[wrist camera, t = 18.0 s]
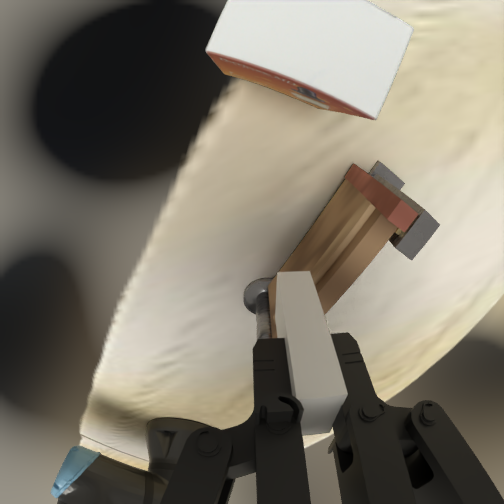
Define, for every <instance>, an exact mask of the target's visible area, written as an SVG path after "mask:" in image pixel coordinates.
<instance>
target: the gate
mask: <svg viewBox="0 0 504 504" xmlns="http://www.w3.org/2000/svg"><path fill="white" fill-rule="evenodd" d="M345 178H346V179H345V180H344V182H343V183H342V185H341V186H340V187H339V189H338V190H337V192H336V193H335V195H334V196H333V197H332V199H331V200H330V202H329V203H328V205H327V206H326V207H325V209H324V210H323V212H322V213H321V214H320V216H319V217H318V219H317V220H316V221H315V223H314V224H313V226H312V227H311V228H310V230H309V231H308V233H307V234H306V235H305V237H304V238H303V239H302V241H301V242H300V244H299V245H298V246H297V248H296V249H295V250H294V252H293V253H292V255H291V256H290V257H289V259H288V260H287V261H286V263H285V264H284V265H283V267H282V268H281V269H280V271H279V272H297V271H310V273H311V276H312V279H313V282H314V285H315V288H316V291H317V294H318V297H319V300H320V303H321V306H322V309H323V312H324V315H325V314H326V313H327V312H328V311H329V309H330V308H331V307H332V306H333V305H334V304H335V303H336V302H337V301H338V300H339V298H340V297H341V296H342V295H343V294H344V293H345V292H346V291H347V289H348V288H349V287H350V286H351V285H352V284H353V283H354V281H355V280H356V279H357V278H358V277H359V276H360V274H361V273H362V272H363V271H364V270H365V268H366V267H367V266H368V265H369V264H370V262H371V261H372V260H373V259H374V257H375V256H376V255H377V254H378V253H379V251H380V250H381V249H382V248H383V246H384V245H385V244H386V243H387V241H388V240H389V239H390V237H391V236H392V235H393V234H394V232H395V231H396V230H397V228H399V229H401V230H402V231H403V232H405V231H406V230H407V229H408V227H409V226H410V225H411V223H412V222H413V221H414V219H415V218H416V217H417V215H418V213H417V212H415V211H414V210H413V209H412V208H411V207H410V206H408V205H407V204H406V203H405V202H404V201H403V200H401V199H400V198H399V197H398V196H396V195H395V194H394V193H393V192H391V191H390V190H389V189H388V188H386V187H385V186H384V185H382V184H381V183H380V182H378V181H377V180H376V179H374V178H373V177H372V176H370V175H369V174H368V173H366V172H365V171H364V170H362V169H361V168H359V167H358V166H357V165H355V164H353V165H352V167H351V168H350V170H349V171H348V172H347V174H346V175H345ZM276 286H277V275H276V276H275V277H274V279H273V280H272V281H271V283H270V284H269V285H268V292H269V304H270V317H271V330H272V338H277V329H276V321H275V309H276Z"/></svg>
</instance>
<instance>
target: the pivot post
mask: <svg viewBox="0 0 504 504" xmlns="http://www.w3.org/2000/svg"><path fill="white" fill-rule="evenodd" d="M272 280H273V279H271V278H263V279H258V280H256V281H254V282H252V283H250V284H249V285H248V286H247V288H246V289H245V292H244V304H245V306H246V308H247V309H248V310H249V311H251V312H252V313H254V314H256V321H257V340H258V339H266V338H272V330H271V317H270V304H269V292H268V285H269V284H270V283H271V281H272Z"/></svg>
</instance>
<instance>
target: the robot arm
mask: <svg viewBox="0 0 504 504" xmlns="http://www.w3.org/2000/svg"><path fill="white" fill-rule="evenodd" d="M275 321H276V329H277V338H266V339H258V340H257V342H256V344H255V346H254V348H253V381H254V411H253V413H252V415H251V416H250V417H249V419H248V420H247V421H245V422H244V423H242V424H240V425H238V426H235V427H231V428H228V429H224V430H220V429H218V428H215V427H209V426H207V425H204V424H201V423H197V422H193V421H189V420H183V419H175V418H159V419H154V420H151V421H150V422H149V423H148V424H147V428H146V442H147V448H148V454H149V468H148V471H145V470H142V469H139V468H136V467H133V466H130V465H127V464H125V463H122V462H119V461H117V460H114V459H112V458H109V457H107V456H104V455H102V454H101V453H100V452H95V451H92V450H90V449H87V448H85V447H82V446H74V447H72V448H71V449H70V451H69V453H68V455H67V456H66V458H65V460H64V462H63V464H62V466H61V468H60V471H59V473H58V475H57V477H56V480H55V482H54V485H53V487H52V489H51V494H52V495H53V496H54V497H55V498H58V503H57V504H228V501H229V498H230V495H231V492H232V489H233V485H234V482H235V479H236V478H238V477H242V476H245V475H248V474H251V473H254V472H256V485H257V504H311V501H310V492H309V484H308V477H307V468H306V460H305V453H304V445H303V437H302V436H304V435H313V434H322V433H329V432H330V431H331V429H332V427H333V430H334V435H335V437H334V439H333V441H332V443H331V444H330V446H329V448H328V453H331V452H332V451H333V452H334V458H335V464H336V469H337V476H338V481H339V488H340V494H341V500H342V504H504V500H503V498H502V497H501V495H500V493H499V492H498V490H497V488H496V487H495V485H494V483H493V482H492V480H491V479H490V477H489V475H488V474H487V472H486V471H485V469H484V468H483V466H482V465H481V463H480V462H479V460H478V459H477V457H476V456H475V454H474V453H473V451H472V450H471V448H470V447H469V445H468V444H467V443H466V441H465V440H464V438H463V437H462V435H461V434H460V432H459V431H458V430H457V428H456V427H455V425H454V424H453V422H452V421H451V420H450V418H449V417H448V416H447V414H446V413H445V412H444V410H443V409H442V407H440V406H439V405H438V404H437V403H435V402H433V401H427V400H425V401H421V402H419V403H418V404H416V405H415V406H414V407H413V408H403V407H393V406H389V405H387V404H386V403H385V402H384V401H382V400H381V399H380V398H378V397H377V395H376V393H375V391H374V388H373V385H372V382H371V379H370V376H369V374H368V371H367V368H366V365H365V362H364V360H363V357H362V354H361V353H360V349H359V346H358V344H357V341H356V340H355V339H354V338H353V337H352V336H351V335H350V334H349V333H337V334H330V331H329V328H328V325H327V322H326V319H325V316H324V312H323V309H322V306H321V303H320V300H319V297H318V294H317V291H316V288H315V285H314V282H313V279H312V276H311V273H310V271H297V272H277V286H276V309H275Z"/></svg>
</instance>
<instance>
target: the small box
mask: <svg viewBox="0 0 504 504" xmlns="http://www.w3.org/2000/svg"><path fill="white" fill-rule="evenodd" d="M413 31H414V29H413V27H412V26H411V25H409V24H408V23H406V22H404V21H403V20H401V19H399V18H398V17H396V16H394V15H392V14H391V13H389V12H387V11H386V10H384V9H382V8H380V7H379V6H377V5H375V4H373V3H372V2H370V1H368V0H228V1H227V3H226V5H225V7H224V9H223V11H222V13H221V16H220V18H219V20H218V22H217V25H216V27H215V29H214V31H213V33H212V36H211V38H210V40H209V43H208V45H207V48H206V52H207V54H208V55H209V56H210V57H211V59H212V60H213V61H214V62H215V63H216V64H217V66H218V67H219V68H220V69H221V70H222V72H223V73H224V74H226V75H230V76H233V77H237V78H241V79H244V80H247V81H250V82H254V83H256V84H259V85H262V86H265V87H268V88H270V89H273V90H276V91H278V92H281V93H283V94H286V95H288V96H291V97H293V98H295V99H298V100H300V101H303V102H305V103H307V104H310V105H312V106H314V107H316V108H319V109H324V110H330V111H335V112H341V113H346V114H350V115H355V116H359V117H364V118H368V119H372V120H376V119H377V118H378V115H379V113H380V111H381V108H382V106H383V104H384V102H385V99H386V97H387V95H388V93H389V90H390V88H391V86H392V83H393V81H394V78H395V76H396V74H397V71H398V69H399V66H400V64H401V62H402V59H403V57H404V54H405V52H406V49H407V46H408V44H409V41H410V38H411V36H412V33H413Z"/></svg>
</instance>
